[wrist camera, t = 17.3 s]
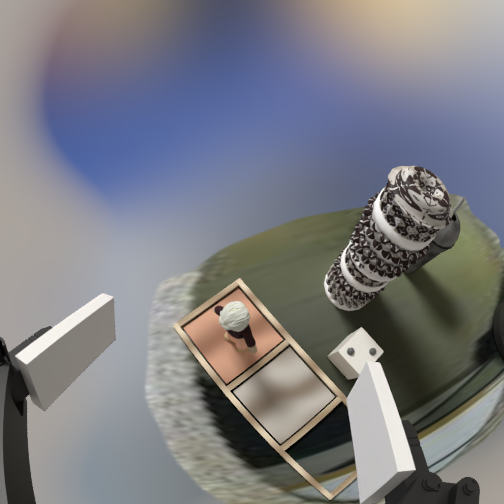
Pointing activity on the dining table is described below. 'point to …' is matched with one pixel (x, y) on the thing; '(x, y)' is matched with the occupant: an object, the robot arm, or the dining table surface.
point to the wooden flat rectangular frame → (264, 375)
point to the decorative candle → (389, 236)
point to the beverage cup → (441, 240)
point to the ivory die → (355, 353)
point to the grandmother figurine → (237, 325)
